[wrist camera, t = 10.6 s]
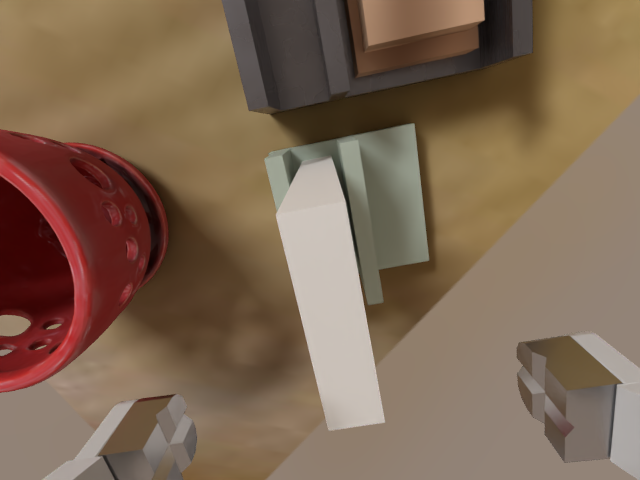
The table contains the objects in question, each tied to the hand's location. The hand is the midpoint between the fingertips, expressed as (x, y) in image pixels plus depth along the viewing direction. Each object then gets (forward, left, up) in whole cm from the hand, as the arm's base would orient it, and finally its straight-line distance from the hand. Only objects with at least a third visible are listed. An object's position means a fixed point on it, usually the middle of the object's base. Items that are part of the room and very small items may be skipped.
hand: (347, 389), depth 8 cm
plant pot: (+17, -3, -20) cm, 26 cm away
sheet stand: (-2, 0, -19) cm, 19 cm away
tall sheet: (0, 0, -18) cm, 18 cm away
